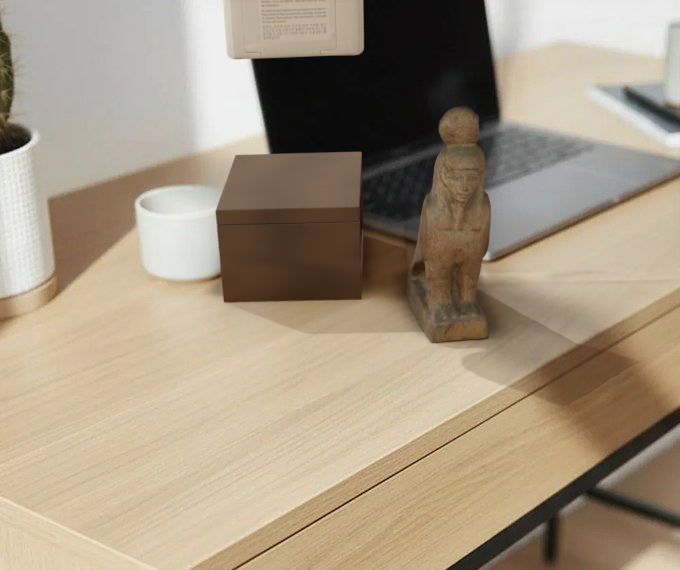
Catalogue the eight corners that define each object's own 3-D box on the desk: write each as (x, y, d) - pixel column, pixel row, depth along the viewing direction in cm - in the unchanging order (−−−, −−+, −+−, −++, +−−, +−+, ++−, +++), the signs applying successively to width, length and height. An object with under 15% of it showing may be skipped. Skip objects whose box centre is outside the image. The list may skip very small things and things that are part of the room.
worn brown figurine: (487, 368, 90) (509, 143, 77) (414, 370, 90) (424, 146, 77) (469, 279, 98) (486, 64, 86) (402, 281, 98) (409, 66, 85)
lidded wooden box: (363, 235, 108) (361, 151, 104) (361, 299, 95) (359, 206, 91) (241, 237, 108) (235, 154, 104) (223, 302, 96) (215, 210, 92)
